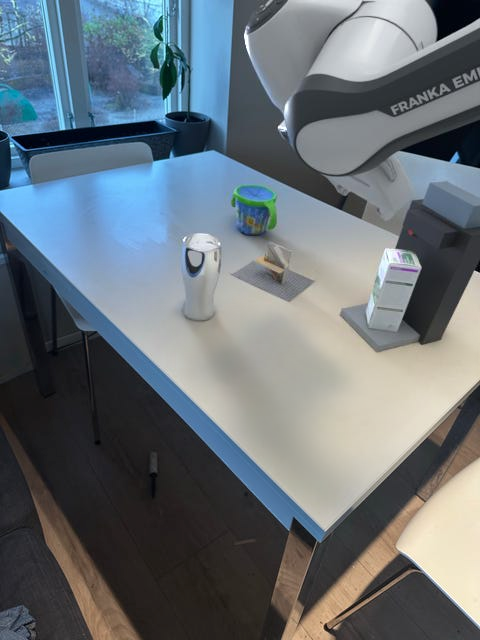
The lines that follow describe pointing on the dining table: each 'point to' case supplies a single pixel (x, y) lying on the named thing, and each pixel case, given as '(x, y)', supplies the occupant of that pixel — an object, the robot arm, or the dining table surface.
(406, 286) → the syrup box
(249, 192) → the snack cup
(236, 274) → the architectural model
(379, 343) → the coffee maker
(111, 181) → the dining table surface
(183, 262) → the beer glass
